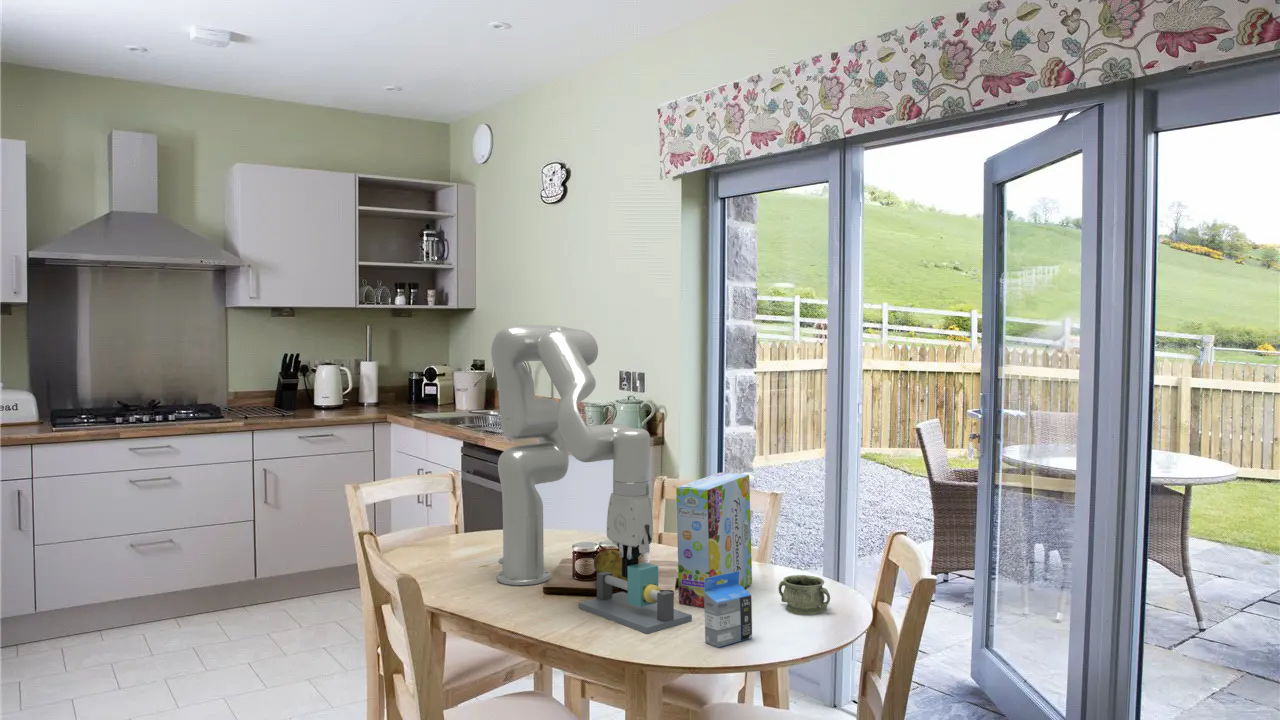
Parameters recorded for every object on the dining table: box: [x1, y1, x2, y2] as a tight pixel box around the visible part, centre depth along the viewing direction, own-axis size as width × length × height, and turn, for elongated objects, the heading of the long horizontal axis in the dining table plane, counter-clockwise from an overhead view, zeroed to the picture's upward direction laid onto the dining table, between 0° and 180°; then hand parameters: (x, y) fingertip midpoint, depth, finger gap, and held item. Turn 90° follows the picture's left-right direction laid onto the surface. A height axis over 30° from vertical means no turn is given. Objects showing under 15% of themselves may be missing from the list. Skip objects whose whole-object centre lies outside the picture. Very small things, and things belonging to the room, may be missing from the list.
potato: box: [593, 549, 628, 581], centre depth 208 cm, size 8×13×8 cm, turn 44°
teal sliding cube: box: [627, 561, 659, 607], centre depth 184 cm, size 4×5×8 cm
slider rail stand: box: [578, 571, 693, 635], centre depth 187 cm, size 22×12×7 cm, turn 41°
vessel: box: [778, 574, 831, 616], centre depth 190 cm, size 12×9×6 cm
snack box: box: [675, 472, 753, 608], centre depth 201 cm, size 22×9×26 cm, turn 149°
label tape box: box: [704, 571, 753, 648], centre depth 170 cm, size 9×4×12 cm, turn 126°
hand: (629, 576), depth 188 cm, fingers closed
